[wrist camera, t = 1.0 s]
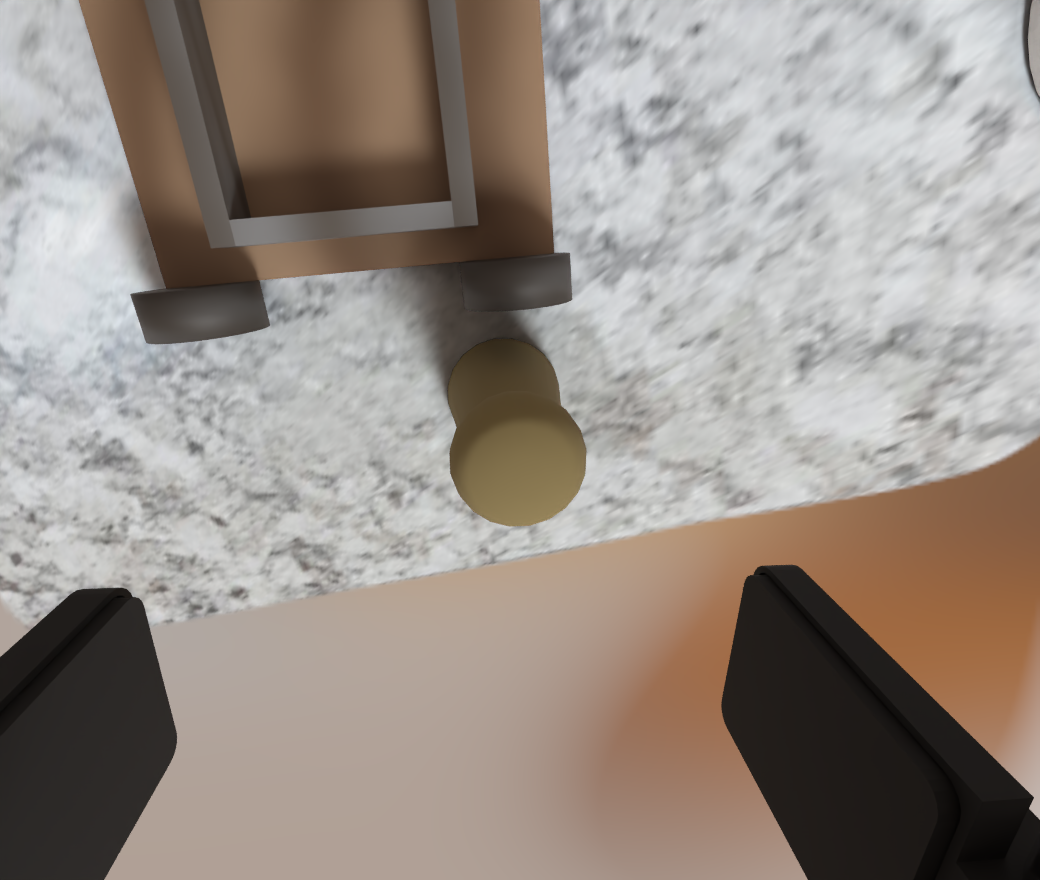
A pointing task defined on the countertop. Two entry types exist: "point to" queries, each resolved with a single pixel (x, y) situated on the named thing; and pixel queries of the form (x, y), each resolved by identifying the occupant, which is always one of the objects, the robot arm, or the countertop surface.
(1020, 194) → the countertop surface
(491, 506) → the cork
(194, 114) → the car chassis
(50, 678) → the robot arm
